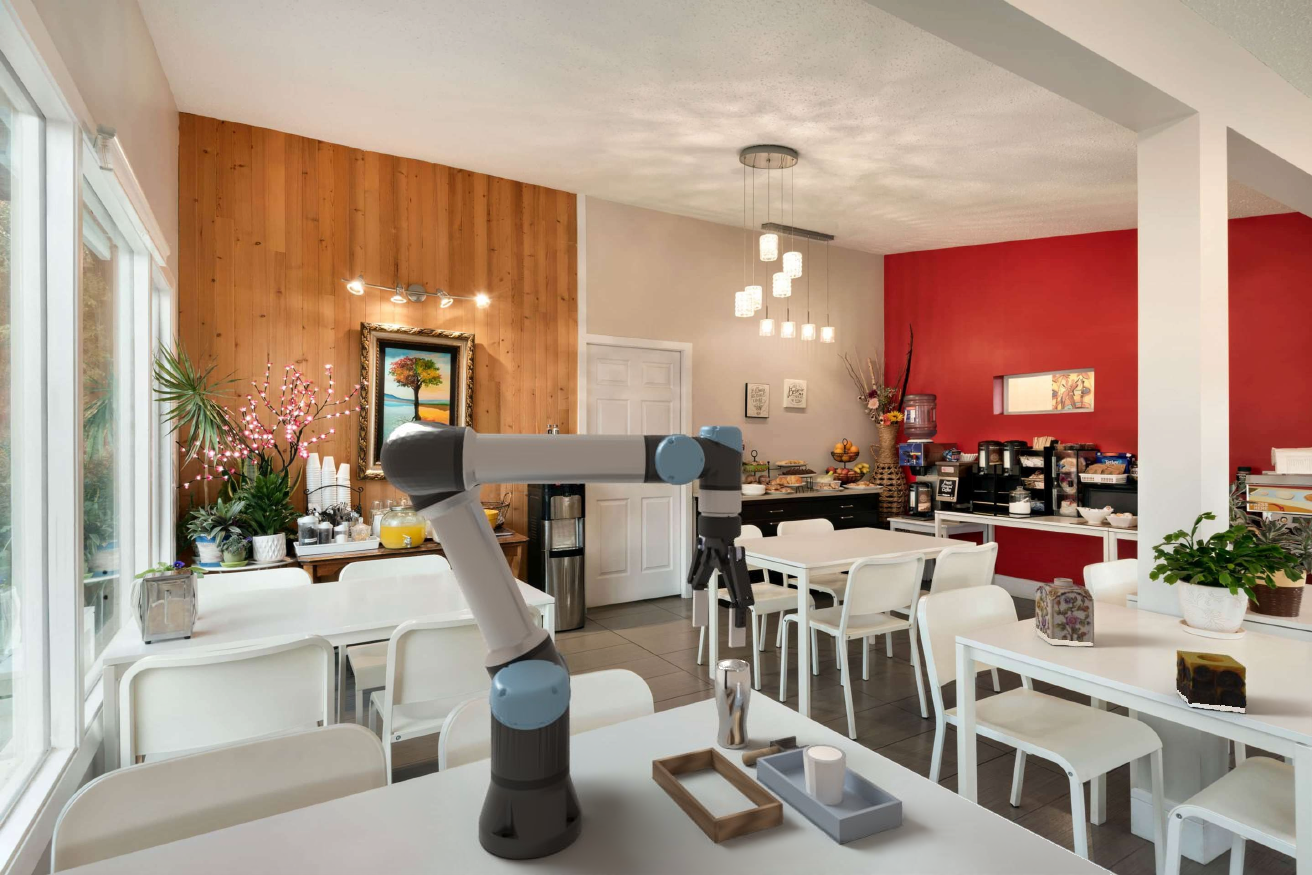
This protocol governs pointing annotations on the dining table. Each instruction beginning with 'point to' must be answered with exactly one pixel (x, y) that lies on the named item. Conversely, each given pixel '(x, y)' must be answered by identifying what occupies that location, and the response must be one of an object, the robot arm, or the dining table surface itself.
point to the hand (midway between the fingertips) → (717, 635)
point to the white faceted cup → (825, 772)
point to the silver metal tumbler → (732, 702)
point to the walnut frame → (739, 822)
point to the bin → (844, 821)
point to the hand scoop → (771, 749)
